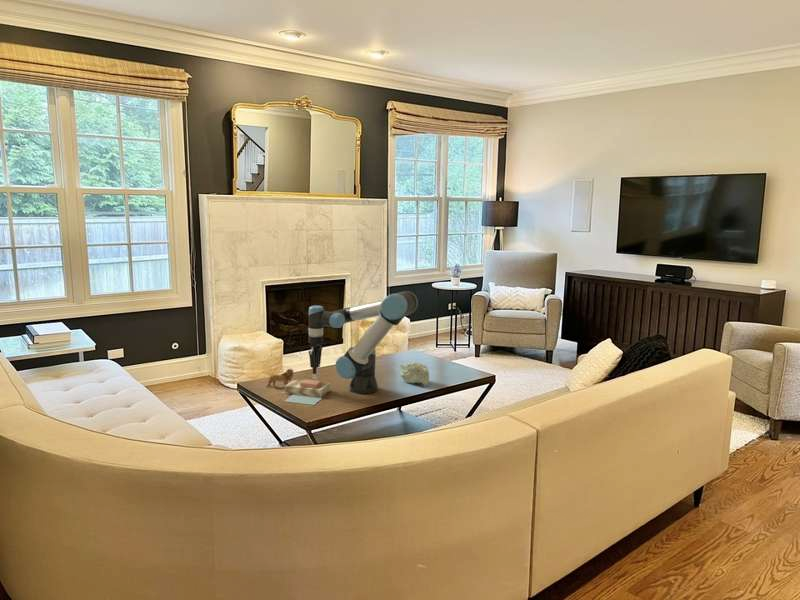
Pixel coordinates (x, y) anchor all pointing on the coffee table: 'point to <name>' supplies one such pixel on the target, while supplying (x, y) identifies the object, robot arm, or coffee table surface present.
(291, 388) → the plate
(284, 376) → the lion figurine
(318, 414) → the coffee table surface
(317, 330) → the robot arm
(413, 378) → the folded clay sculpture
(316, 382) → the tile
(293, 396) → the mat
